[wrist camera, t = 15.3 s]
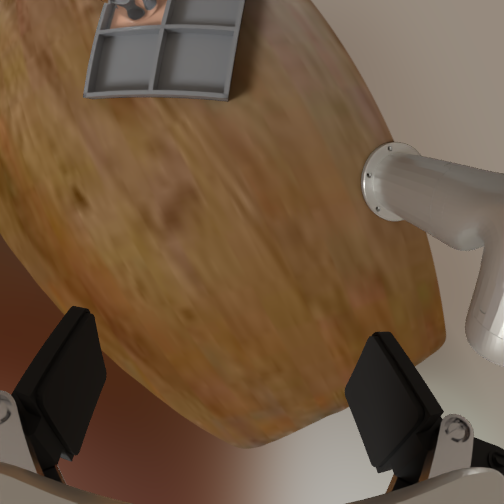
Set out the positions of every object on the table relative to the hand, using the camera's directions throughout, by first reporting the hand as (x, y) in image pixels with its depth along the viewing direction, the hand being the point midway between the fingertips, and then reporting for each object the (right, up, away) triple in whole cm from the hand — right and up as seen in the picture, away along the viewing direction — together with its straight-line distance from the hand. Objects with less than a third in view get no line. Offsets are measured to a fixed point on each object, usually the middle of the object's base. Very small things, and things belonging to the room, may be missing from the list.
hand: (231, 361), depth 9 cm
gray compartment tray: (-11, +34, +21) cm, 42 cm away
